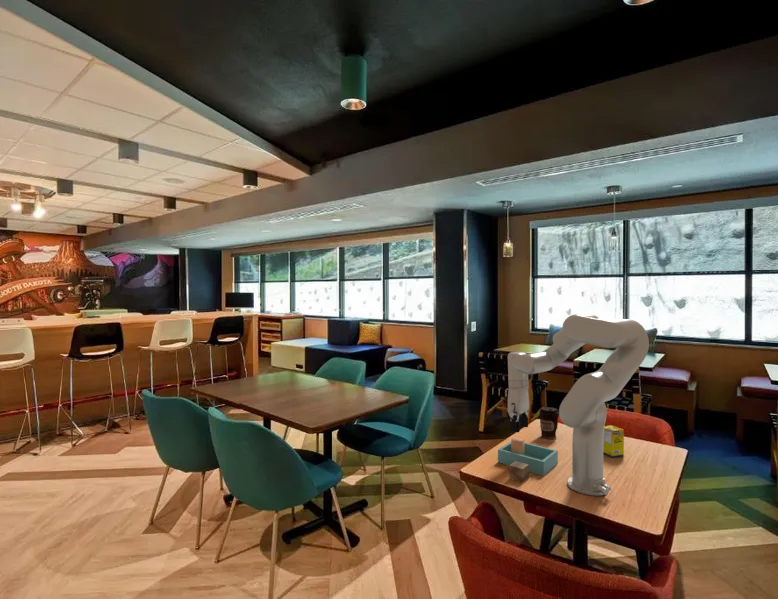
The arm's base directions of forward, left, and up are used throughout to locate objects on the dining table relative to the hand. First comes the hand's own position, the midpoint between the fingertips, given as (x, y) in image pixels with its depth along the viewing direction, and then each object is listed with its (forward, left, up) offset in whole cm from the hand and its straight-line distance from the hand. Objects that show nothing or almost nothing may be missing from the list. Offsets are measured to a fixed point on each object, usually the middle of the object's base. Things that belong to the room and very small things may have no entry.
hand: (519, 428), depth 165 cm
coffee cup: (+19, -29, -13) cm, 37 cm away
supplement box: (-6, -40, -13) cm, 42 cm away
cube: (-13, +9, -13) cm, 21 cm away
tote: (-3, -2, -13) cm, 13 cm away
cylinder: (+1, 0, -12) cm, 12 cm away
